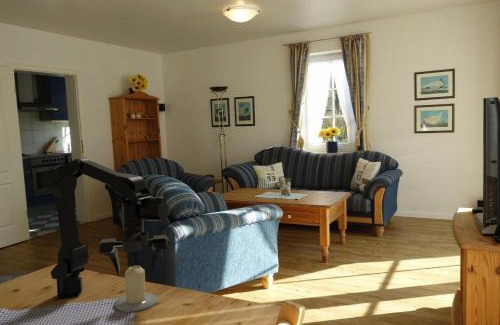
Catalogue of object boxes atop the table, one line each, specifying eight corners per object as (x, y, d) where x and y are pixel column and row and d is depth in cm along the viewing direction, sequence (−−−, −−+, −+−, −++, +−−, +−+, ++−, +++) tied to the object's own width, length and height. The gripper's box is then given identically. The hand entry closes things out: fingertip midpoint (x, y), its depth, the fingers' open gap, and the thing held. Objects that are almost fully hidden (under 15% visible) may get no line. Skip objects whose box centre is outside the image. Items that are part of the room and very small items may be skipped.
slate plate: (111, 313, 111) (111, 311, 111) (117, 297, 123) (117, 294, 123) (156, 309, 113) (156, 306, 113) (157, 293, 125) (157, 291, 125)
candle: (139, 304, 115) (138, 270, 114) (122, 303, 116) (121, 269, 115) (148, 297, 120) (147, 264, 119) (131, 296, 121) (130, 263, 121)
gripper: (93, 227, 107) (96, 285, 108) (165, 223, 110) (167, 279, 111) (101, 219, 118) (103, 272, 119) (166, 215, 121) (168, 267, 122)
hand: (135, 272), depth 117 cm, fingers open, 9 cm apart
